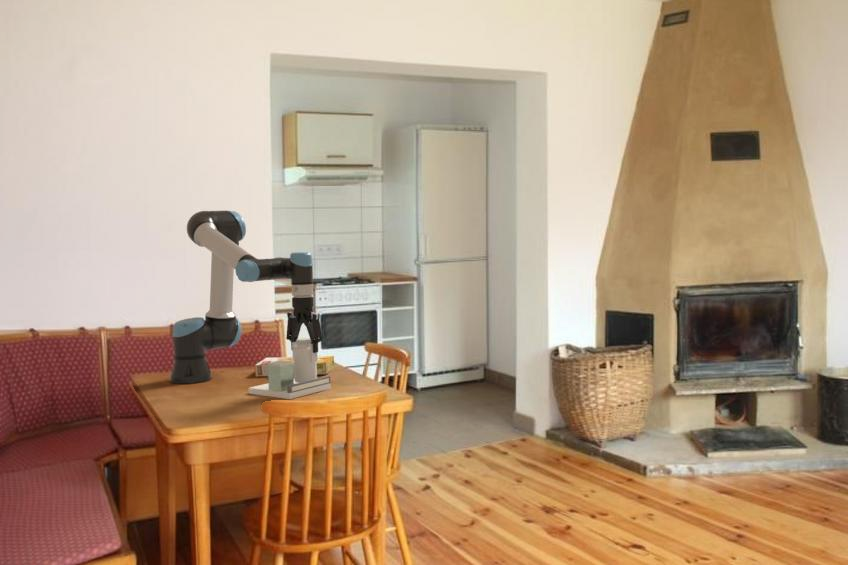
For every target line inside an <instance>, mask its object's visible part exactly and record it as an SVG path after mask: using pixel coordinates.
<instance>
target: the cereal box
mask: <svg viewBox="0 0 848 565" xmlns="http://www.w3.org/2000/svg"><path fill="white" fill-rule="evenodd" d="M280 360H282V361H292V362H293V376H294V361H293V356H291V357H289V356H288V357H286V356H284V357H283V356H282V357H265V358H264V359H262V360H261V361H259V362H257V363H256V364H255V365H254V370H255V371H254V372H255V377H256V378H257V377H268V365H267V363H270V362H275V361H280ZM316 365H317V376H318V375H327V374H328V373H329V372H331V371H332V370H334V368H335V356H334V355H328V356H326V355H324V356H323V355H322V356H321V355H320V356H318V355H317V362H316Z"/></svg>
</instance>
